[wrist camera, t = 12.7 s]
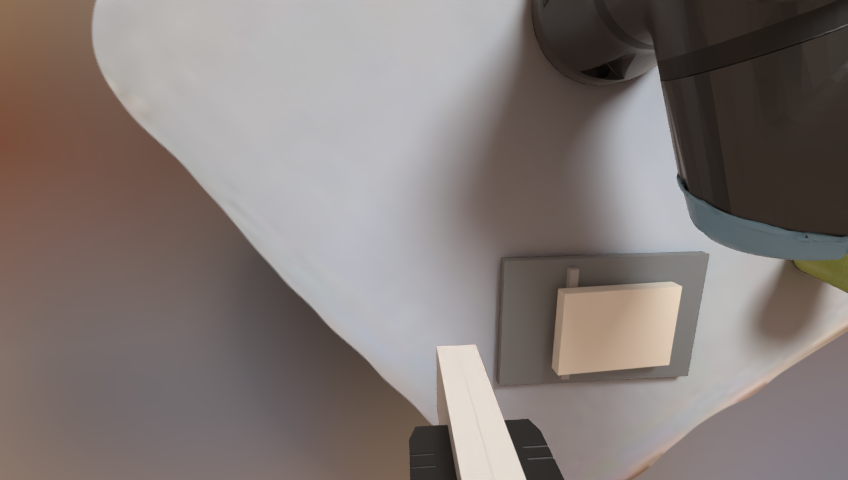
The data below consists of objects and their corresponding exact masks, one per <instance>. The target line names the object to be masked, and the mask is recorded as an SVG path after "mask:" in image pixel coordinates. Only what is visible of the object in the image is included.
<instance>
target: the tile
mask: <svg viewBox="0 0 848 480" xmlns="http://www.w3.org/2000/svg"><path fill="white" fill-rule="evenodd" d="M681 292H682V286H680V285H678V284H676V283H674V282H672V281H671V282H655V283H639V284H623V285H608V286H592V287H576V288H560V289H558V298H557V310H556V322H555V334H554V346H553V358H552V369H553V370H554V371H555V372H556V374H557V375H567V374H578V373H589V372H600V371H610V370H621V369H632V368H642V367H653V366H664V365H669V363H670V357H671V351H672V345H673V339H674V333H675V327H676V321H677V315H678V309H679V303H680V298H681Z"/></svg>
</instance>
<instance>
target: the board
mask: <svg viewBox="0 0 848 480" xmlns="http://www.w3.org/2000/svg"><path fill="white" fill-rule="evenodd" d="M708 259H709V254H707V253H705V252H702V251H698V252H667V253H637V254H607V255H577V256H547V257H517V258H502V268H501V293H500V319H499V345H498V371H497V381H498V383H499V386H508V385H527V384H545V383H564V382H583V381H602V380H621V379H640V378H659V377H678V376H688V371H689V365H690V360H691V354H692V348H693V343H694V337H695V332H696V326H697V321H698V315H699V309H700V304H701V298H702V293H703V287H704V282H705V276H706V270H707V265H708ZM671 281H672V282H674V283H676V284H678V285H680V286H682V292H681V298H680V303H679V309H678V315H677V321H676V327H675V333H674V339H673V345H672V351H671V357H670V363H669V365H664V366H653V367H642V368H632V369H621V370H610V371H600V372H589V373H578V374H567V375H557V374H556V372H555V371H554V370H553V369H552V358H553V346H554V334H555V322H556V310H557V298H558V289H560V288H576V287H592V286H608V285H623V284H639V283H655V282H671Z"/></svg>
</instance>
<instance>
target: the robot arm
mask: <svg viewBox="0 0 848 480" xmlns="http://www.w3.org/2000/svg"><path fill="white" fill-rule="evenodd" d="M532 18H533V25H534V30H535V34H536V37H537V40H538V42H539V45H540V47H541V49H542V51H543V53H544V54H545V56H546V57H547V59H548V60H549V61H550V62H551V64H552V65H553V66H554V67H555V68H556V69H557V70H559V71H560V72H561V73H562V74H564V75H565V76H567V77H569V78H571V79H573V80H575V81H577V82H580V83H584V84H589V85H609V84H614V83H618V82H623V81H627V80H630V79H633V78H635V77H638V76H640V75H642V74H644V73H645V72H647V71H649V70H651V69H652V68H653V67H655V66H656V65H658V69H659V74H660V80H661V85H662V91H663V96H664V101H665V106H666V112H667V117H668V122H669V127H670V132H671V138H672V143H673V148H674V153H675V159H676V164H677V169H678V174H677V181H678V185H679V187H680V189H681V190H682V192H683V193H684V196H685V200H686V204H687V207H688V211H689V215H690V218H691V220H692V222H693V223H694V225H695V226H696V227H697V228H698V229H699V230H700V231H702V232H704V233H705V235H707V236H708V237H709V238H710V239H712V240H713V241H715V242H717V243H719V244H721V245H724V246H726V247H729V248H731V249H734V250H737V251H741V252H745V253H748V254H753V255H758V256H764V257H770V258H778V259H787V260H806V261H818V260H837V259H842V258H843V257H844V256H845V254H848V0H532ZM437 412H438V419H439V425H437V426H420V427H415V429H414V431H413V433H412V435H411V437H410V439H409V448H410V480H564V478H563V476H562V474H561V472H560V470H559V468H558V466H557V464H556V462H555V460H554V459H553V456H552V454H551V452H550V449H549V447H547V443H546V441H545V439H544V437H543V435H542V433H541V431H540V430H539V429H538V428H537V427H536V426H535V425H534V424H533V423H532V422H531V421H530V420H529V419H520V420H504V419H503V416H502V414H501V411H500V408H499V406H498V403H497V400H496V398H495V395H494V392H493V390H492V387H491V384H490V382H489V379H488V376H487V374H486V371H485V368H484V366H483V363H482V360H481V358H480V355H479V352H478V350H477V347H476V345H456V346H437Z"/></svg>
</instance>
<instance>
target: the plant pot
mask: <svg viewBox="0 0 848 480" xmlns="http://www.w3.org/2000/svg"><path fill="white" fill-rule="evenodd" d="M793 261H794V264H795V265H796V267H797V268H798V269H800V270H801V271H803V272H805V273H808V274H810V275H812V276H814V277H816V278H818V279H820V280H822V281H824V282H826V283H828V284H830V285H832V286H834V287H836V288H838V289H841V290H843V291H845V292H847V293H848V254H845V256H844V257H843V258H842V259H837V260H818V261H806V260H793Z"/></svg>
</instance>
